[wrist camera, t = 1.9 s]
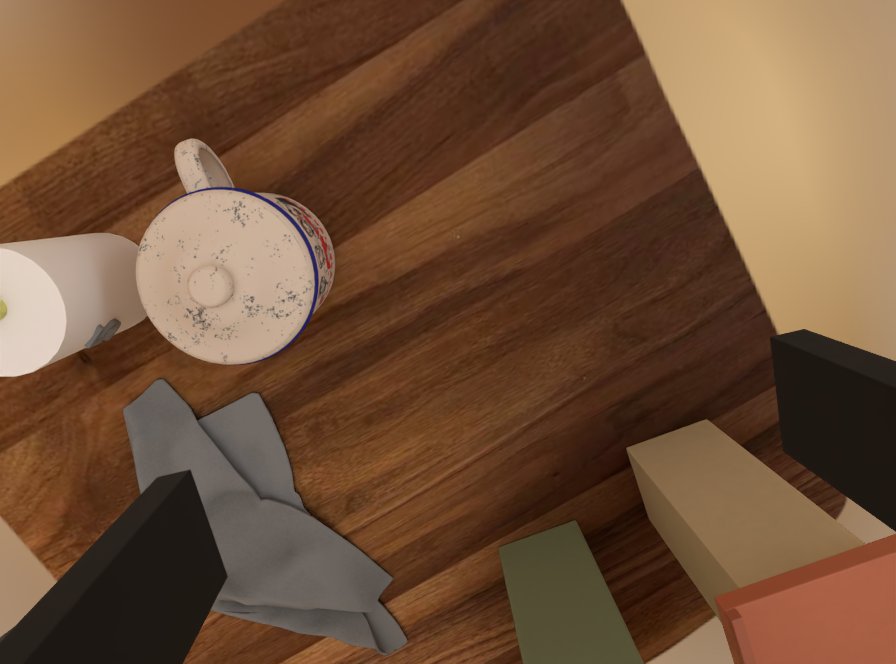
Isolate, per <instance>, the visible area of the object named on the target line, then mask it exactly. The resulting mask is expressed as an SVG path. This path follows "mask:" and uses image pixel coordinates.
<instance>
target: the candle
mask: <svg viewBox="0 0 896 664" xmlns="http://www.w3.org/2000/svg"><path fill="white" fill-rule="evenodd" d="M138 250H139V246H138V245H136V244H135V243H134V242H132V241H130V240H128V239H126V238H125V237H123V236H119V235H115V234H111V233H91V234H83V235H74V236H66V237H57V238H49V239H40V240H32V241H23V242H15V243H6V244H0V376H20V375H23V374H27V373H31V372H34V371H36V370H38V369H41V368H43V367H45V366H47V365H49V364H51V363H54V362H56V361H58V360H60V359H62V358H65V357H67V356H69V355H71V354H73V353H76V352H78V351H80V350H82V349H84V348H88V349H89V348H91V347H93V346H95V345H98V344H100V343H101V342H102V340H106V341H108V340H110V339H111V338H112V337H113V335H115V334H117V333H120V332H122V331H124V330H126V329H128V328H131V327H133V326H134V325H136V324H138V323H139V322H141V321H143V320H144V319H145V318H146V317H147V316H148V315H147V313H146V311H145V309H144V307H143V305H142V302H141V299H140V296H139V293H138V288H137V282H136V259H137V254H138Z"/></svg>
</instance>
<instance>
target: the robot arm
mask: <svg viewBox="0 0 896 664" xmlns="http://www.w3.org/2000/svg"><path fill="white" fill-rule="evenodd" d="M770 341H771V349H772V358H773V367H774V376H775V385H776V394H777V403H778V411H779V420H780V429H781V438H782V447H783V451H784V452H785V453H786V454H788V455H789V456H791V457H792V458H793V459H795V460H796V461H798V462H799V463H800V464H802V465H803V466H805V467H806V468H807V469H809V470H810V471H812V472H813V473H814V474H816V475H817V476H819V477H820V478H821V479H823V480H824V481H826V482H827V483H828V484H830V485H831V486H833V487H834V488H835V489H837V490H838V491H840V492H841V493H842V494H844V495H845V496H847V497H848V498H849V499H851V500H852V501H854V502H855V503H856V504H858V505H859V506H861V507H862V508H863V509H865V510H866V511H868V512H869V513H871V514H872V515H873V516H875V517H876V518H877V519H879V520H880V521H882V522H883V523H885V524H886V525H887V526H889V527H890V528H891V529H893V530H894V531H896V361H893V360H891V359H888V358H885V357H882V356H879V355H876V354H873V353H871V352H868V351H865V350H862V349H859V348H857V347H854V346H850V345H848V344H845V343H842V342H839V341H836V340H834V339H831V338H828V337H825V336H822V335H820V334H817V333H814V332H811V331H808V330H805V329H803V330H799V331H794V332H790V333H785V334H781V335H776V336H772V337H770ZM227 577H228V575H227V572H226V570H225V567H224V564H223V561H222V558H221V555H220V552H219V550H218V547H217V544H216V541H215V538H214V535H213V532H212V529H211V527H210V524H209V521H208V518H207V515H206V512H205V509H204V506H203V504H202V501H201V498H200V495H199V492H198V489H197V486H196V483H195V481H194V478H193V475H192V472H191V469H190V470H186V471H181V472H177V473H173V474H168V475H164V476H160V477H157V478H156V479H155V480H154V481H153V482H152V483H151V484H150V485H149V486H148V487H147V488H146V489H145V490H144V491H143V493H142V494H141V495H140V496H139V497H138V498H137V499H136V500H135V501H134V502H133V503H132V504H131V505H130V506H129V507H128V508H127V509H126V510H125V511H124V512H123V514H122V515H121V516H120V517H119V518H118V519H117V520H116V521H115V522H114V523H113V524H112V525H111V526H110V527H109V528H108V529H107V530H106V531H105V532H104V533H103V535H102V536H101V537H100V538H99V539H98V540H97V541H96V542H95V543H94V544H93V545H92V546H91V547H90V548H89V549H88V550H87V551H86V552H85V553H84V554H83V556H82V557H81V558H80V559H79V560H78V561H77V562H76V563H75V564H74V565H73V566H72V567H71V568H70V569H69V570H68V571H67V572H66V573H65V574H64V575H63V577H62V578H61V579H60V580H59V581H58V582H57V583H56V584H55V585H54V586H53V587H52V588H51V589H50V590H49V591H48V592H47V593H46V594H45V595H44V597H43V598H42V599H41V600H40V601H39V602H38V603H37V604H36V605H35V606H34V607H33V608H32V609H31V610H30V611H29V612H28V613H27V614H26V615H25V616H24V617H23V619H22V620H21V621H20V622H19V623H18V624H17V625H16V626H15V627H13V628H12V629H11V630H10V631H8V632H7V633H5V634H4V635H3V636H1V637H0V664H183V662H184V660H185V658H186V656H187V654H188V652H189V650H190V649H191V647H192V645H193V643H194V641H195V639H196V637H197V635H198V633H199V631H200V629H201V627H202V625H203V623H204V622H205V620H206V618H207V616H208V614H209V612H210V610H211V608H212V606H213V604H214V602H215V600H216V598H217V596H218V594H219V593H220V591H221V589H222V587H223V585H224V583H225V581H226V579H227Z"/></svg>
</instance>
